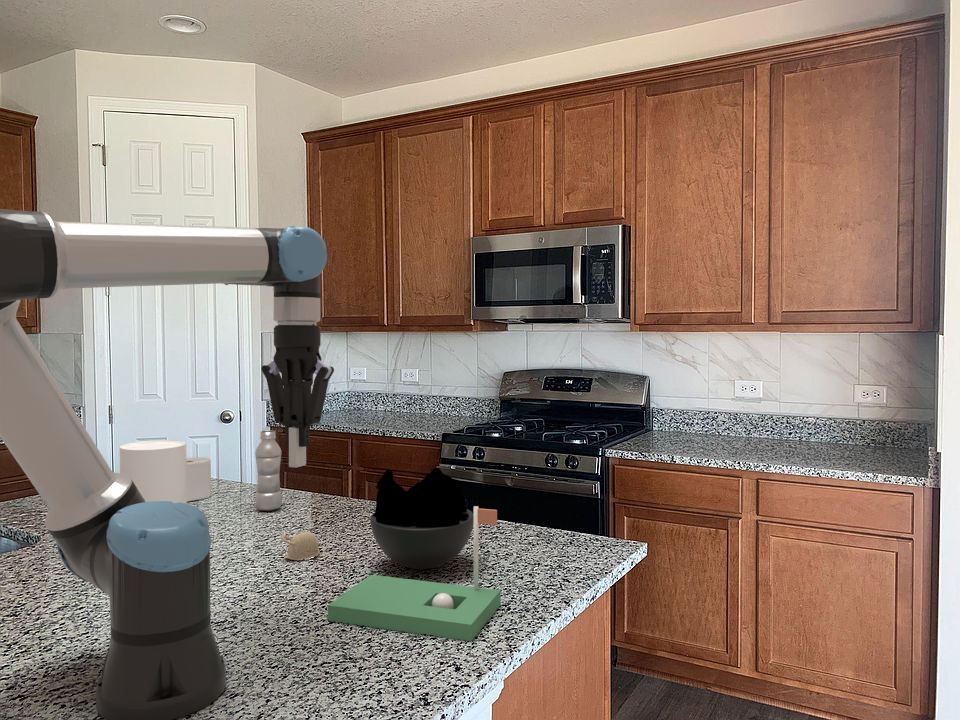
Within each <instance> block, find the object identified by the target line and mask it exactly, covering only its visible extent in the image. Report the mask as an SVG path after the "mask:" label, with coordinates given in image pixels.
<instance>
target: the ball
mask: <svg viewBox="0 0 960 720" xmlns="http://www.w3.org/2000/svg"><path fill="white" fill-rule="evenodd" d="M453 605H454V603H453V599H452V598H451V596H450V595H448V594H446V593H440V594H438V595H436V596H435V597H434V599H433V601H432V607H440V608H448V609H453Z"/></svg>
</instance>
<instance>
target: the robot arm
mask: <svg viewBox="0 0 960 720" xmlns="http://www.w3.org/2000/svg"><path fill="white" fill-rule="evenodd" d="M327 260H328V252H327V245H326V242H325V240H324V239H323V237H322V236H321V235H320V233H318V232H317V231H316V230H315V229H313V228H310V227H309V226H296V225H292V226H288V227H286V228H285V227H284V228H275V227H274V228H271V227H243V226H242V227H241V226H214V225H213V226H212V225H210V226H209V225H180V224H179V225H177V224H149V223H148V224H146V223H145V224H143V223H115V222H114V223H113V222H110V223H109V222H85V221H83V222H81V221H56V220H54V219H53V218H52V217H51V216H50V215H48V213H46V212H45V211H33V210H32V211H29V210H16V209H7V208H6V209H3V208H0V439H1V440H2V442H3V443H4V445H5V446H6V447H7V448H6V449H8V450H9V452H10V454H11V455H12V456H13V458H14V459H15V461H16V462H17V464H18V466H19V467H20V468H21V470H22V471H23V472H24V473H25V476H26V477H27V478H28V480H29V481H30V483H31V484H32V485H33V487H34V488H35V490H36V491H37V493H38V495H39V496H40V497H41V498H42V500H43V502H44V503H45V504H46V506H47V507H48V510H47V513H46V516H45V519H44V527H45V528H46V530H47V531H48V533H49V534H50V535H51V537H52V538H53V540H54V541H55V543H56V549H57V553H58V555H59V558H60V560H61V561H62V563H63V565H64V566H65V568H66V569H67V570H68V571H69V572H70V573H71V574H72V575H74V576H75V577H76V578H78V579H79V580H82V581H84V582H87V583H89V584H91V585H93V586H94V587H95V588H97V589H98V590H100V591H102V592H103V593H105V594H106V595H107V596H108V597H109V617H110V619H109V620H110V621H109V623H110V643H109V645H108V646H109V647H108V650H107V653H106V656H105V659H104V662H103V667H102V670H101V676H100V677H99V679H98V682H97V685H96V687H95V689H96V690H95V701H96V702H95V703H96V705H95V707H96V710H97V714H99V716H101V717H102V718H104V719H106V720H174V719H178V718H182V717H185V716H188V715H191V714H193V713H195V712H198V711H200V710H201V709H203V708H205V707H206V706H209V705H210V704H211V703H213V702H214V701H216V700H217V699H218V698H219V697H220V696H221V695H222V694H223V692H224V691H225V689H226V686H227V667H226V662H225V661H224V658H223V657H222V656H221V654H220V649H219V647H218V643H217V641H216V637H215V635H214V631H213V628H212V623H211V622H212V621H211V616H212V615H211V613H212V612H211V611H212V610H211V609H212V608H211V606H212V605H211V546H212V540H211V539H212V537H211V534H210V528H209V520H208V517H207V516H206V514H205V513H204V511H202V510H201V509H200V508H198V507H196V506H194V505H192V504H188V503H187V504H185V503H180V502H178V503H172V502H171V501H151V502H146V501H145V500H144V498H143V497H142V495H141V493H140V492H139V490H138V489H137V487H136V486H135V484H134V482H133V481H132V479H131V478H130V476H128V475H126V474H120V472H114V471H112V469H111V467H110V466H109V464H108V462H107V461H106V459H105V458H104V456H103V454H102V453H101V452H100V450H99V448H98V447H97V445H96V444H95V442H94V440H93V438H92V437H91V435H90V434H89V433H88V430H87V429H86V427H85V426H84V424H83V423H82V421H81V420H80V418H79V417H78V415H77V414H76V411H75V410H74V409H73V407H72V405H71V404H70V402H69V401H68V398H66V395H65V394H64V393H63V391H62V389H61V388H60V386H59V384H58V383H57V382H56V379H55V378H54V377H53V375H52V373H51V371H50V370H49V369H48V367H47V366H46V363H45V362H44V360H43V359H42V358H41V355H40V354H39V353H38V351H37V350H36V348H35V346H34V344H33V343H32V341H31V340H30V339H29V336H28V335H27V334H26V332H25V330H24V329H23V327H22V326H21V323H20V322H19V321H18V319H17V313H18V309H19V307H20V304H21V301H22V300H32V299H33V300H34V299H50V298H53V297H54V296H55V295H56V294H57V293H58V292H59V291H60V290H62V289H63V290H64V289H90V288H92V289H93V288H120V287H121V288H123V287H124V288H125V287H127V288H128V287H151V286H181V285H182V286H183V285H184V286H185V285H212V284H213V285H214V284H215V285H216V284H218V285H219V284H222V285H223V284H224V285H226V286H229V285H235V286H238V285H240V286H263V287H273V288H272V289H273V321H274V322H276V323H277V325H274V327H273V346H274V347H275V353H274V355H273V360H272V361H271V362H270V363H268V364H264V365H262V366H261V367H260V368H261V372H262V374H263V376H264V378H265V380H266V385H267V389H268V393H269V398H270V403H271V409H272V413H273V418H274V422H276V423H280V424H281V425H283V426H284V427H285V431H284V434H285V435H284V436H285V438H284V440H285V441H284V442H285V446H286V447H288V468H296V469H297V468H300V467H303V466H306V465H307V447H309V446H310V443H311V441H310V439H311V437H310V435H311V434H310V433H311V432H310V431H311V430H310V429H311V426H312V425H315V424H318V423H320V422H321V419H322V415H323V410H324V405H325V400H326V396H327V391H328V387H329V381H330V379H331V378H332V376H333V374H334V372H335V368H334V366H332V365H331V366H330V365H329V366H328V365H327V364H325V363H324V362H323V361H322V356H321V354H320V347H321V337H322V336H321V335H322V334H321V333H322V332H321V329H322V328H321V327H320V325H317V323H319V322H321V274H322V272H323V271H324V269H325V267H326V265H327ZM314 374H315V377H314Z"/></svg>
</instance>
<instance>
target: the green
mask: <svg viewBox="0 0 960 720" xmlns="http://www.w3.org/2000/svg"><path fill="white" fill-rule="evenodd" d="M473 514H474V525H473V586H468V585H467V586H466V585H459V584H451V583H445V582H443V583H442V582H433V581H427V580H419V579H418V580H417V579H411V578H409V579H408V578H401V577H392V576H385V575H376V574H375V575H374V574H370V575H368V576H367V577H366V578H364V579H363V580H362V581H360V582H358V584H356V585H354V586H353V587H352V588H350V589H349V590H347V591H345V592H344V593H343V594H342V595H340V596H339V597H337V598H336V599H335V600H333V601H332V602H330V603H329V604H328V605H327V621H328V620H329V621H328V622H333V621H335V622H334V623H340V622H343V623H342V624H347V623H349V624H350V625H354V624H357V625H356V626H361V625H364V626H363V627H368V626H369V628H370V627H371V628H376V629H384V630H389V631H390V630H391V631H396V630H397V631H398V632H403V631H404V633H410V632H411V633H410V634H417V633H419V634H418V635H423V634H426V636H430V635H434V636H433V637H437V636H440V637H439V638H444V637H446V639H451V638H453V639H454V640H458V639H459V640H460V641H467V642H472V641H473V640H474V639H475V637H476V636H477V635H478V634H479V633H480V631H481V630H482V629H483V627H485V625H486V624H487V623H488V622H489V620H490V618H492V616H493V615H494V614H495V612H496V611H497V610H498V609H499V608H500V606H501V597H502V595H501V594H502V593H501V589H493V588H486V587H479V524H481V525H482V524H483V525H492V526H493V525H494V526H497V524H498V510H497V509H488V508H479V506H478V505H477V506H476V505H474V506H473ZM440 593H446V594H448V595H450V596H451V598H452V599H453V603H454V605H453V609H448V608H440V607H432V601H433V599H434V597H435V596H436V595H438V594H440ZM336 621H337V622H336ZM485 623H486V624H485ZM349 624H348V625H349ZM397 631H396V632H397ZM453 639H452V640H453Z"/></svg>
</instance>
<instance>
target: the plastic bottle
mask: <svg viewBox="0 0 960 720" xmlns="http://www.w3.org/2000/svg"><path fill="white" fill-rule="evenodd" d="M259 439H260V440H261V441H260V443H258V445H257V446H256V448H255V454H254V455H255V456H254V457H255V461H256V462H255V463H256V470H257V471H256V472H257V483H256V485H257V487H256V492H255V493H256V494H255V500H254V501H255V506H256V508H257V510H259V511H266V512H269V511H270V512H271V511H274V510H277V509H280V507H281V506H282V501H283V496H282V490H281V482H280V470H281V468H280V467H281V461H282V459H281V458H282V449H281V447H280V445H279V443H277V441H276V439H277V436H276V430H273V429H271V430H268V429H267V430H261V431H260V437H259Z"/></svg>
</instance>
